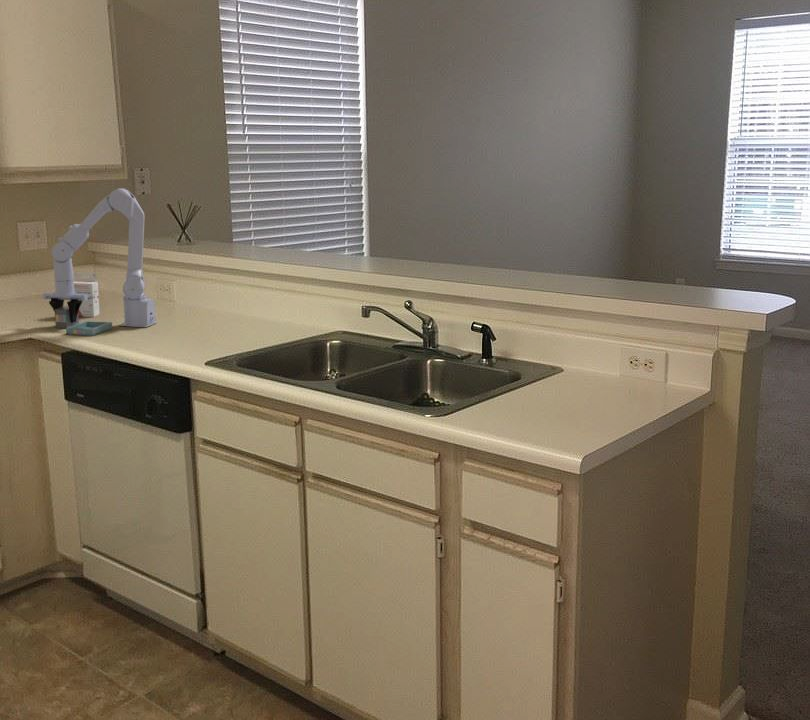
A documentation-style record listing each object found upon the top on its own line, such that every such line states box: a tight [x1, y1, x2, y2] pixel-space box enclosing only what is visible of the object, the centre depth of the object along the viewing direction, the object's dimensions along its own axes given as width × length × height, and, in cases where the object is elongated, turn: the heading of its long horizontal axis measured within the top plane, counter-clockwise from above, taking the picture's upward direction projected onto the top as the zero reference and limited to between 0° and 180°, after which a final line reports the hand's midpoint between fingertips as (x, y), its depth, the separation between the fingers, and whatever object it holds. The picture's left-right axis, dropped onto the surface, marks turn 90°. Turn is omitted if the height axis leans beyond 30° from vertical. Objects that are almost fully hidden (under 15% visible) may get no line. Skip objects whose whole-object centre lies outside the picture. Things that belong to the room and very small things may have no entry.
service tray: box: [65, 320, 113, 337], centre depth 288 cm, size 9×12×2 cm
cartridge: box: [54, 305, 80, 329], centre depth 295 cm, size 4×7×6 cm, turn 169°
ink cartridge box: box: [69, 271, 100, 318], centre depth 312 cm, size 9×5×15 cm, turn 84°
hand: (67, 321), depth 295 cm, fingers closed on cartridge, 4 cm apart
